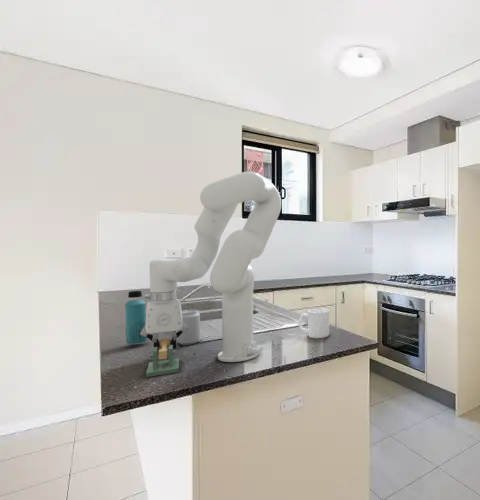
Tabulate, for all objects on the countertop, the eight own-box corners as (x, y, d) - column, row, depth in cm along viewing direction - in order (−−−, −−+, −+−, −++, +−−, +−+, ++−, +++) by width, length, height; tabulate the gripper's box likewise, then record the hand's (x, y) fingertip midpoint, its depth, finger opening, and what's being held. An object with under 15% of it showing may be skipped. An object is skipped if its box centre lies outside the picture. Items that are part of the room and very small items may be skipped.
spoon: (159, 348, 117) (158, 337, 117) (171, 346, 118) (171, 336, 118) (155, 362, 103) (155, 350, 103) (170, 360, 105) (169, 348, 105)
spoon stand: (149, 366, 108) (148, 345, 108) (179, 361, 112) (178, 341, 112) (145, 377, 99) (145, 354, 99) (178, 372, 103) (178, 350, 103)
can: (198, 344, 130) (197, 312, 130) (175, 346, 128) (174, 313, 127) (202, 339, 137) (201, 308, 137) (180, 340, 135) (179, 309, 135)
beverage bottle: (139, 348, 126) (138, 292, 126) (121, 348, 126) (119, 292, 126) (151, 342, 133) (150, 289, 132) (134, 342, 133) (132, 289, 132)
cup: (327, 338, 137) (327, 312, 136) (296, 338, 137) (296, 312, 136) (330, 332, 145) (330, 308, 145) (301, 333, 145) (300, 308, 145)
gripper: (131, 300, 108) (133, 360, 109) (192, 296, 116) (194, 351, 117) (134, 297, 115) (136, 353, 115) (192, 293, 123) (193, 345, 123)
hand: (165, 351), depth 116 cm, fingers closed on spoon, 3 cm apart
